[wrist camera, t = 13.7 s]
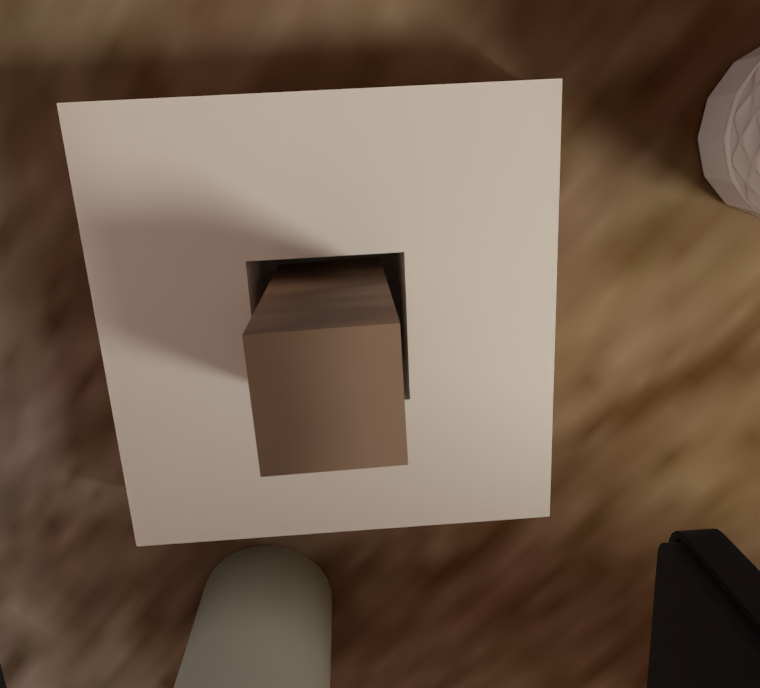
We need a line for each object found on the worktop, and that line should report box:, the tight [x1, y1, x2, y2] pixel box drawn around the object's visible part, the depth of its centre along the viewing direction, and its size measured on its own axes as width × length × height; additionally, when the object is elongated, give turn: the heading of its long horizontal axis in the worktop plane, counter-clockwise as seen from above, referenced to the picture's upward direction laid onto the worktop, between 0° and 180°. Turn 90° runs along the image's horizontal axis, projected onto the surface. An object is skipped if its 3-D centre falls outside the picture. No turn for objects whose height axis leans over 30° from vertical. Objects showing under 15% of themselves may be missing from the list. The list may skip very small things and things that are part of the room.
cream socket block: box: [56, 78, 562, 546], centre depth 25 cm, size 16×16×4 cm
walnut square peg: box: [242, 257, 408, 477], centre depth 22 cm, size 4×4×10 cm
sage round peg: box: [174, 545, 332, 688], centre depth 27 cm, size 6×6×8 cm
